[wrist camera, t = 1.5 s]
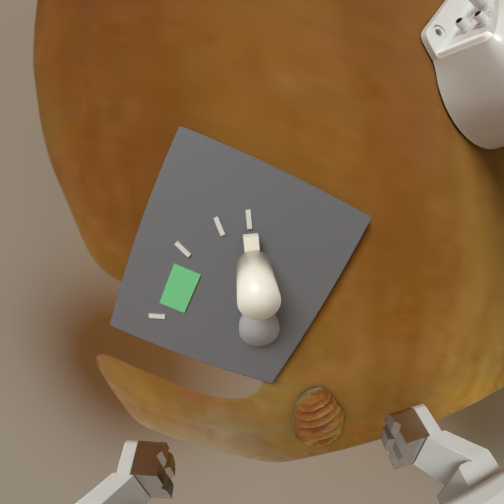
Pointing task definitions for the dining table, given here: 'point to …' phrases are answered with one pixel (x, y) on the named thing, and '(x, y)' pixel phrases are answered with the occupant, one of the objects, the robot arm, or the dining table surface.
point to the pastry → (317, 417)
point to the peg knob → (256, 294)
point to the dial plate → (230, 254)
